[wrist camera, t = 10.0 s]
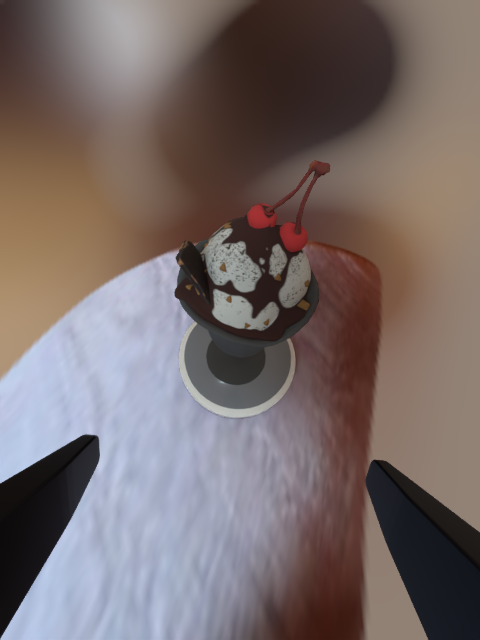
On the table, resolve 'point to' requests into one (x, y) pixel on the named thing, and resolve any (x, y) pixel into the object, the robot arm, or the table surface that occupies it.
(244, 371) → the sundae
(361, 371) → the table surface
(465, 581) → the robot arm
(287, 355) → the round mirror
